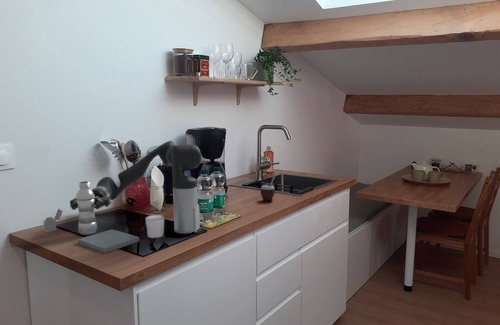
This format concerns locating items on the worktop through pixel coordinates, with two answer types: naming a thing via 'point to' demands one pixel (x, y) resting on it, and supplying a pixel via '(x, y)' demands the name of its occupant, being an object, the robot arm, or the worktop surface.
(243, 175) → the worktop surface
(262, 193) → the mate gourd
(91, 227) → the plastic bottle
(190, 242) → the worktop surface
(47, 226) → the lighter
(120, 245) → the board
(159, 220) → the white cup
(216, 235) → the worktop surface
